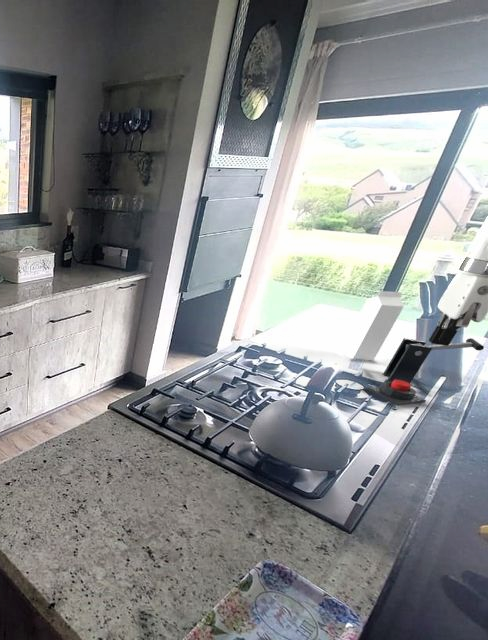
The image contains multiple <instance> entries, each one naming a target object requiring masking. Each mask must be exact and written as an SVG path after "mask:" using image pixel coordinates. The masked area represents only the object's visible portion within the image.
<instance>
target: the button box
mask: <svg viewBox="0 0 488 640" xmlns="http://www.w3.org/2000/svg"><path fill="white" fill-rule="evenodd" d="M391 384H392V382H391V381H387V380H386V381H384V382H383V383H382V385H374V386H372V385H371V386H366V388H365V390H366V391H368V392H369V393H372V394H373V395H375V396H376V397H379V398H381V399H384V400H385V401H387V402H389V403H391V404H393V405H395V406H398V407H399V406H407V405H409V406H410V405H415V404H416V405H417V404H424V403H426V402H427V399H425V398H423V397H421V396H418V395H416V394H417V391H416V390H415V389H414V388H413V387H412V386H411V387H410V388H409V390H408V391H407V392H406V391H400V390H397V389H395V388H393V387H391ZM390 409H392V410H393V411H398V409H397V408H392V407H391V408H390Z"/></svg>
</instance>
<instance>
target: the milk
mask: <svg viewBox="0 0 488 640" xmlns="http://www.w3.org/2000/svg"><path fill="white" fill-rule="evenodd" d="M402 294H403V293H402V292H398V291H387V290H386V291H385V290H381V291H379V292H378V294H377V295H375V296H372V297H367V299H366V301H365V303H364V305H363V307H362V308H361V311H360V312H359V314H358V317H357V318H356V320H355V322H354V324H353V327H352V328H351V330H350V332H349V334H348V336H347V338H346V340H345V342H344V344H343V346H342V347H341V350H340V351H341V352H342V353H344V354H345V355H347V356H348V357H349V358H351V359H353V360H363V361H364V360H365V361H375V359H376V357H377V355H378V353H379V351H380V349H381V348H382V346H383V344H384V343H385V341H386V339H387V337H388V336H389V334H390V332H391V331H392V329H393V327H394V326H395V323H396V322H397V319H398V318H399V316H400V314H401V313H402V311H403V309H404V307H405V305H404V304H403V301H402V300H401V296H402Z"/></svg>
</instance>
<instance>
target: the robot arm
mask: <svg viewBox="0 0 488 640" xmlns="http://www.w3.org/2000/svg"><path fill="white" fill-rule="evenodd" d="M437 309H438V310H439V315H440V317H439V319H438V321H437V326H435V328H434V330H433V332H432V333H431V335H430V337H429V338H428V341H429V343H430V344H432V345H445V346H448V345H449V344H451V342H452V341H453V339H454V337H455V336H456V334H457V333H458V332H459V331H460V330H461V329H462V328H468V327H469V325H470V323H471V321H472V322H475V323H480V322H482V321H483V320H484V319H485V318H486V316H487V314H488V216H487V217H486V218H485V220H484V222H483V224H482V226H481V227H480V229H479V230H478V232H477V234H476V236H475V237H474V239H473V241H472V243H471V244H470V246H469V248H468V250H467V252H466V253H465V254H464V256H463V258H462V260H461V262H460V264H459V266H458V267H457V269H456V275H455V276H453V279H452V280H451V282H450V283H449V284H448V286H447V288H446V289H445V291H444V293H443V294H442V296H441V297H440V299H439V302H438V304H437Z"/></svg>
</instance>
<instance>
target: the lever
mask: <svg viewBox="0 0 488 640" xmlns="http://www.w3.org/2000/svg"><path fill="white" fill-rule="evenodd" d="M415 344H416V345H422V344H421V343H415ZM408 345H409V344H406V348H407V347H408ZM422 346H423V345H422ZM427 346H428V347H431V348H432V350H431V351H439V350H440V351H441V350H453V349H467V348H472V349H474V350H475V351H477V352H478V351H482V350H484V348H485V347H484V345H483V344H481V343H480V342H478V341H477V340H475V339H474V338H467V339H466V340H465V342H457V343H456V342H455V343H450V344H449V345H448V346H445V345H438V344H432V345H427Z"/></svg>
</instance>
